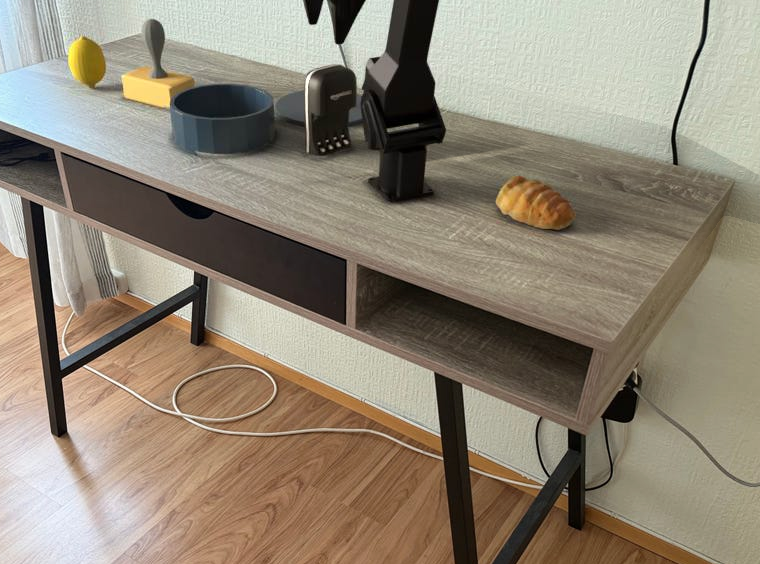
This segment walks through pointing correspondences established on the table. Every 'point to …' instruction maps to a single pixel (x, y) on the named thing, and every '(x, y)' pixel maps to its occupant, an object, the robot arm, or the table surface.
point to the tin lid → (293, 109)
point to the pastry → (534, 204)
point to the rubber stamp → (154, 72)
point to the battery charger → (328, 108)
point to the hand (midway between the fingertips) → (325, 33)
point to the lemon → (87, 61)
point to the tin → (222, 135)
